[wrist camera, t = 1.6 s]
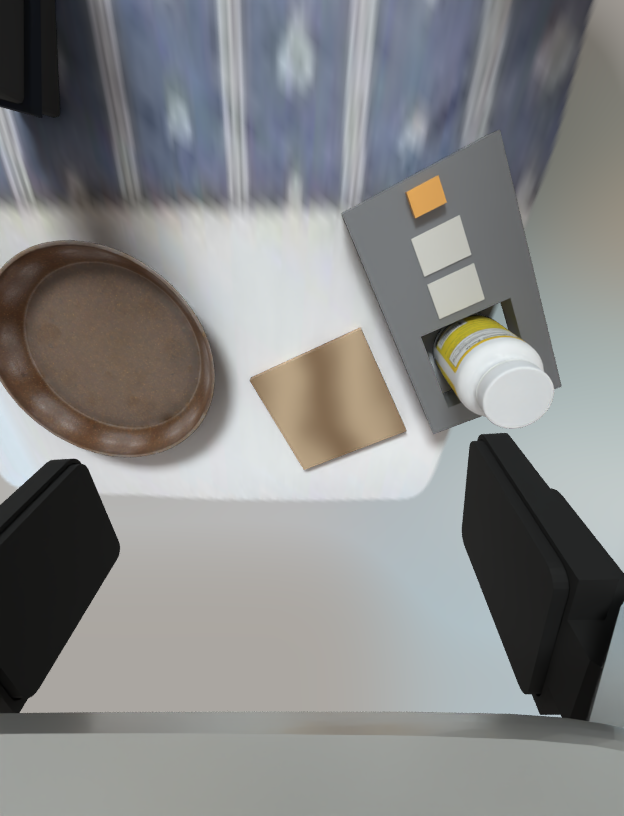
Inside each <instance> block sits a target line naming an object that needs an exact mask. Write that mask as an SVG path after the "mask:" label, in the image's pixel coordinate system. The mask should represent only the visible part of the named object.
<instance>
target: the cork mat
mask: <svg viewBox="0 0 624 816" xmlns="http://www.w3.org/2000/svg"><path fill="white" fill-rule="evenodd" d="M250 382H251V383H252V385H253V387H254V388H255V390H256V392H257V393H258V395H259V397H260V398H261V400H262V401H263V403H264V405H265V406H266V408H267V410H268V411H269V413H270V415H271V416H272V418H273V420H274V421H275V423H276V425H277V426H278V428H279V429H280V431H281V433H282V434H283V436H284V438H285V439H286V441H287V443H288V444H289V446H290V448H291V449H292V451H293V453H294V454H295V456H296V457H297V459H298V461H299V462H300V464H301V466H302V467H303V469H304V470H305V469H308V468H311V467H313V466H316V465H318V464H321V463H324V462H326V461H329V460H332V459H334V458H337V457H339V456H342V455H345V454H347V453H350V452H353V451H355V450H358V449H360V448H363V447H366V446H368V445H371V444H374V443H376V442H379V441H381V440H384V439H387V438H389V437H392V436H395V435H397V434H400V433H403V432H405V431H406V428H405V426H404V424H403V421H402V419H401V417H400V415H399V412H398V410H397V408H396V406H395V403H394V401H393V399H392V397H391V394H390V392H389V390H388V388H387V386H386V383H385V381H384V379H383V377H382V374H381V372H380V370H379V368H378V365H377V363H376V361H375V359H374V357H373V354H372V352H371V350H370V348H369V345H368V343H367V341H366V339H365V336H364V334H363V332H362V330H361V328H358V329H356V330H354V331H352V332H349V333H347V334H345V335H343V336H341V337H339V338H336V339H334V340H332V341H330V342H328V343H325V344H323V345H321V346H319V347H317V348H315V349H312V350H310V351H308V352H306V353H304V354H301V355H299V356H297V357H295V358H293V359H291V360H288V361H286V362H284V363H282V364H280V365H277V366H275V367H273V368H271V369H269V370H267V371H264V372H262V373H260V374H258V375H256V376H254V377H251V379H250Z"/></svg>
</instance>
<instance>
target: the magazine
mask: <svg viewBox="0 0 624 816" xmlns="http://www.w3.org/2000/svg"><path fill="white" fill-rule="evenodd" d="M0 107H3V108H6V109H10V110H14V111H18V112H21V113H25V114H29V115H32V116H36V117H40V118H42V114H43V115H47V116H51V117H59V115H60V102H59V80H58V58H57V36H56V14H55V0H0Z"/></svg>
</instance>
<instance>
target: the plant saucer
mask: <svg viewBox="0 0 624 816" xmlns="http://www.w3.org/2000/svg"><path fill="white" fill-rule="evenodd" d="M0 381H1V383H2V384H3V386H4V387H5V389H6V390H7V392H8V393H9V394H10V396H11V397H12V398H13V399H14V400H15V402H16V403H17V404H18V405H19V406H20V407H21V408H22V409H23V410H24V411H25V412H26V413H27V414H28V415H29V416H30V417H31V418H32V419H33V420H34V421H36V422H37V423H38V424H39V425H41V426H43V427H44V428H45V429H47V430H48V431H49V432H51V433H52V434H54V435H56V436H57V437H59V438H61V439H63V440H65V441H67V442H69V443H71V444H73V445H75V446H77V447H80V448H82V449H85V450H89V451H92V452H95V453H99V454H103V455H108V456H117V457H141V456H147V455H152V454H156V453H160V452H163V451H165V450H168V449H170V448H172V447H174V446H176V445H178V444H179V443H181V442H182V441H184V440H185V439H186V438H188V437H189V436H190V435H191V434H192V433H193V432H194V431H195V430H196V429H197V428H198V427H199V425H200V424H201V423H202V421H203V419H204V418H205V416H206V414H207V412H208V410H209V407H210V404H211V401H212V397H213V392H214V384H215V371H214V362H213V356H212V352H211V348H210V344H209V341H208V339H207V336H206V334H205V332H204V329H203V327H202V325H201V323H200V322H199V320H198V318H197V316H196V315H195V313H194V312H193V310H192V309H191V307H190V306H189V305H188V303H187V302H186V301H185V299H184V298H183V297H182V296H181V295H180V294H179V292H178V291H177V290H176V289H175V288H174V287H173V286H172V285H171V284H170V283H169V282H168V281H167V280H165V279H164V278H163V277H162V276H161V275H159V274H158V273H157V272H155V271H154V270H153V269H151V268H150V267H149V266H147V265H146V264H144V263H142V262H141V261H139V260H137V259H135V258H134V257H132V256H130V255H127V254H125V253H123V252H121V251H118V250H116V249H113V248H110V247H107V246H104V245H100V244H96V243H91V242H84V241H74V240H61V241H52V242H46V243H42V244H38V245H35V246H32V247H30V248H28V249H26V250H24V251H22V252H20V253H18V254H17V255H15V256H14V257H13V258H11V259H10V260H9V261H7V262H6V263H5V264H4V266H3V267H2V268H1V269H0Z"/></svg>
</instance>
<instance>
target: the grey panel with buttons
mask: <svg viewBox="0 0 624 816" xmlns="http://www.w3.org/2000/svg"><path fill="white" fill-rule="evenodd" d="M341 214H342V216H343V218H344V221H345V223H346V226H347V228H348V230H349V233H350V235H351V238H352V240H353V242H354V245H355V247H356V250H357V252H358V254H359V257H360V259H361V262H362V264H363V266H364V269H365V271H366V274H367V276H368V278H369V281H370V283H371V286H372V288H373V290H374V293H375V295H376V298H377V300H378V302H379V305H380V307H381V310H382V312H383V314H384V317H385V319H386V322H387V324H388V326H389V329H390V331H391V334H392V336H393V338H394V341H395V343H396V346H397V348H398V350H399V353H400V355H401V358H402V360H403V362H404V365H405V367H406V370H407V372H408V374H409V377H410V379H411V382H412V384H413V386H414V389H415V391H416V394H417V396H418V398H419V401H420V403H421V406H422V408H423V410H424V413H425V415H426V418H427V420H428V422H429V425H430V427H431V429H432V432H433V434H435V433H438V432H440V431H443V430H446V429H448V428H451V427H454V426H456V425H459V424H462V423H464V422H467V421H470V420H473V419H475V418H478V417H481V415H478V414H476V413H474V412H472V411H470V410H469V409H468V408H466V407H465V406H464V405H463V403H462V402H461V401H460V400H459V398H458V397H457V395H456V394H455V392H454V391H453V390H450V391H448V392H445V393H442V390H441V388H440V385H439V383H438V380H437V377H436V375H435V372H434V370H433V367H432V364H431V362H430V359H429V357H428V354H427V351H426V349H425V346H424V344H423V341H422V338H421V337H422V336H424V335H426V334H429V333H431V332H433V331H435V330H438V329H440V328H442V327H445V326H447V325H449V324H452V323H454V322H456V321H458V320H461V319H463V318H465V317H468V316H470V315H472V314H474V313H477V312H479V311H481V310H484V309H486V308H488V307H491V306H493V305H495V304H497V303H500V302H501V306H502V309H503V313H504V316H505V319H506V323H507V327H508V330H509V331H510V332H512V333H513V334H515V335H516V336H517V337H519V338H520V339H522V340H523V341H525V342H526V343H528V344H529V345H530V346H531V347H532V348H533V349H534V350H535V351H536V352H537V353H538V354H539V356H540V358H541V360H542V363H543V368H544V372H545V373H546V374H547V375H548V376H549V377H550V379H551V381H552V383H553V386H554V389H556V388H558V387H561V382H560V378H559V374H558V369H557V365H556V361H555V357H554V353H553V349H552V345H551V340H550V336H549V332H548V328H547V324H546V320H545V315H544V311H543V307H542V303H541V299H540V295H539V291H538V287H537V283H536V278H535V274H534V270H533V265H532V262H531V257H530V253H529V249H528V245H527V241H526V236H525V232H524V228H523V224H522V220H521V216H520V211H519V207H518V203H517V199H516V195H515V191H514V186H513V182H512V178H511V174H510V170H509V166H508V162H507V157H506V153H505V149H504V145H503V141H502V137H501V132H500V130H498V131H495V132H493V133H491V134H488V135H486V136H484V137H482V138H480V139H478V140H477V141H475V142H473V143H471V144H469V145H467V146H465V147H464V148H462V149H460V150H458V151H456V152H454V153H452V154H451V155H449V156H447V157H445V158H443V159H441V160H439V161H438V162H436V163H434V164H432V165H430V166H428V167H427V168H425V169H423V170H421V171H419V172H417V173H415V174H414V175H412V176H410V177H408V178H406V179H404V180H402V181H401V182H399V183H397V184H395V185H393V186H391V187H389V188H388V189H386V190H384V191H382V192H380V193H378V194H376V195H375V196H373V197H371V198H369V199H367V200H365V201H363V202H362V203H360V204H358V205H356V206H354V207H352V208H350V209H349V210H347V211H345V212H343V213H341Z"/></svg>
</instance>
